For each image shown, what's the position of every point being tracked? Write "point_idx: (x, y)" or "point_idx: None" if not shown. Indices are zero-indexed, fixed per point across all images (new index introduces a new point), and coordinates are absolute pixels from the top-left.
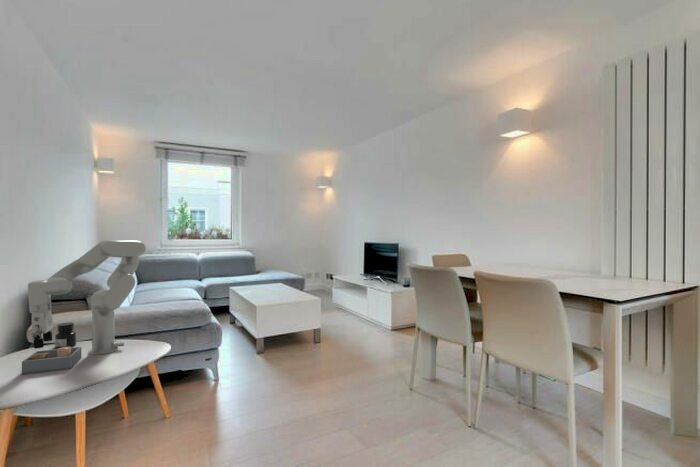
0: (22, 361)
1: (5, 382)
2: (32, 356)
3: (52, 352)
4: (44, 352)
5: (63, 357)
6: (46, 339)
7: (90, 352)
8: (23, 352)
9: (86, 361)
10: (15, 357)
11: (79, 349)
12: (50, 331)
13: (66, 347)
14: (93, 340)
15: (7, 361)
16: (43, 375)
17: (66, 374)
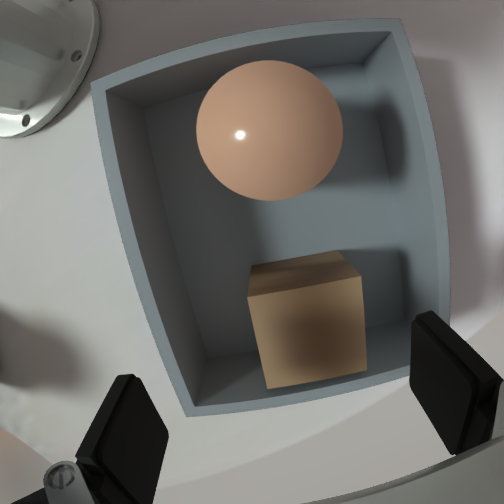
0: None
1: (489, 320)
2: (336, 373)
3: (167, 303)
4: (182, 360)
5: (415, 72)
6: (153, 427)
7: (70, 83)
8: None
9: (221, 25)
10: None
11: (149, 63)
12: (82, 474)
13: (238, 115)
14: (1, 56)
15: (171, 481)
16: (455, 176)
17: (452, 50)
